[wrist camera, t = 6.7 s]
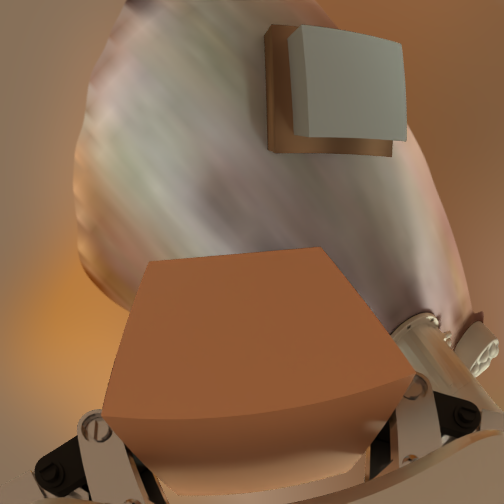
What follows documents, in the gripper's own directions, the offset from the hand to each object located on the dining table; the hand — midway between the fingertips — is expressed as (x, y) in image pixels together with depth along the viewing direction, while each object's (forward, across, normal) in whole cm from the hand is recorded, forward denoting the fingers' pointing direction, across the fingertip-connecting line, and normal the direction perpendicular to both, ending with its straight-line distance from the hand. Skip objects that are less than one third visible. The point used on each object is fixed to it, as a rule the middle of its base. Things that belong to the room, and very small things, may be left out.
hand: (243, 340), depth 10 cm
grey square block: (+16, -11, -11) cm, 22 cm away
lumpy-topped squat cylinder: (+20, -55, +35) cm, 68 cm away
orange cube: (+1, 0, 0) cm, 1 cm away
